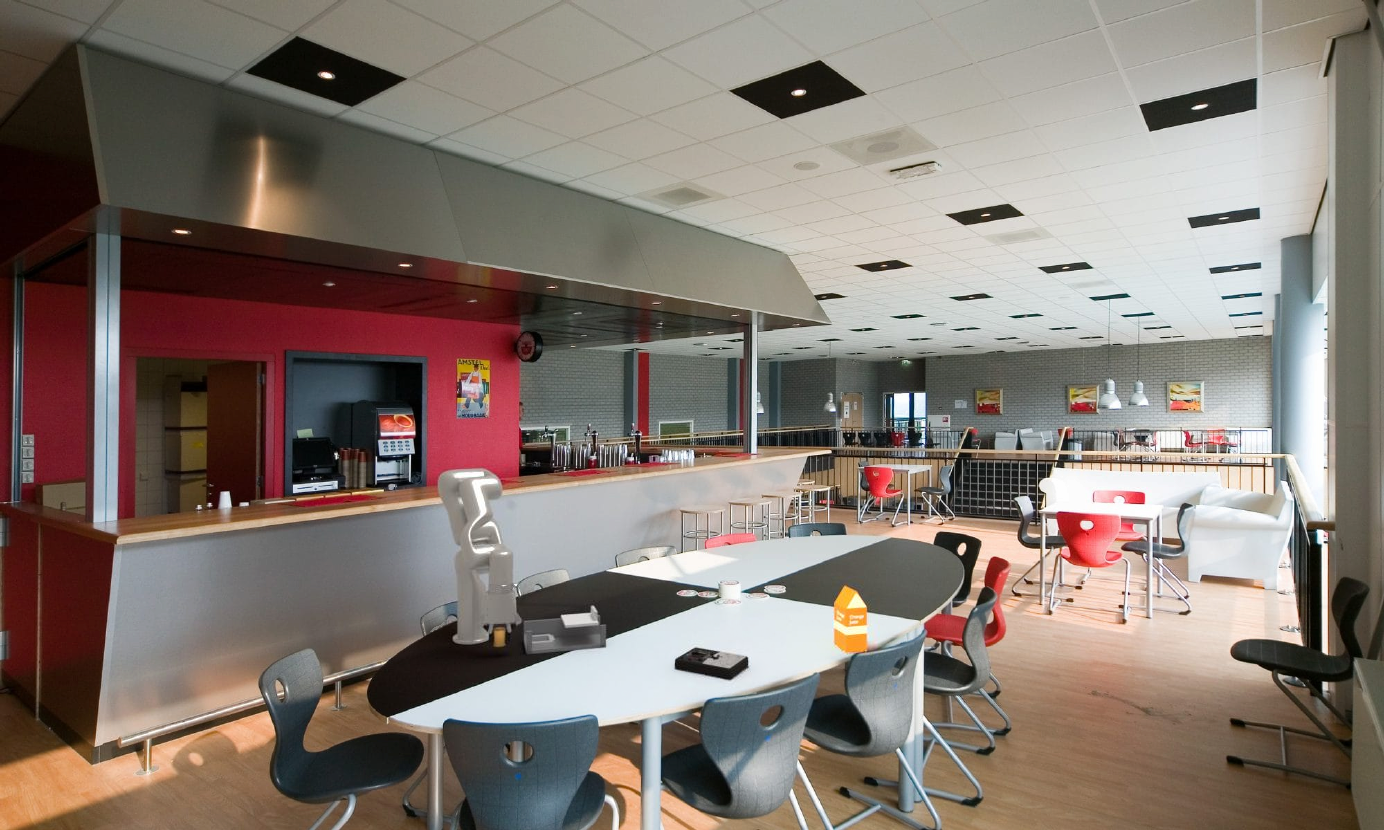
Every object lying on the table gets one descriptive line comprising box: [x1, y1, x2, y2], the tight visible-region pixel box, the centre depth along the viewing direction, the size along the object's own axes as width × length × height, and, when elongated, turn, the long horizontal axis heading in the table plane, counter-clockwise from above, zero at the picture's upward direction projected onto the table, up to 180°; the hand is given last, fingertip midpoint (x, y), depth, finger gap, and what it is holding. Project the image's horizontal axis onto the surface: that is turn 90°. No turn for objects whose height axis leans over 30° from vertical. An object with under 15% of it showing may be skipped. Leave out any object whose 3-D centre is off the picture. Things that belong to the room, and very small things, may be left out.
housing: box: [523, 614, 607, 655], centre depth 252 cm, size 13×26×7 cm, turn 106°
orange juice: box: [833, 585, 868, 653], centre depth 249 cm, size 8×9×20 cm
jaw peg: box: [492, 626, 507, 648], centre depth 241 cm, size 4×4×5 cm
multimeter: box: [674, 646, 749, 681], centre depth 230 cm, size 13×19×5 cm
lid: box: [560, 605, 599, 628], centre depth 254 cm, size 13×11×4 cm
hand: (499, 643), depth 241 cm, fingers closed on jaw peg, 4 cm apart
